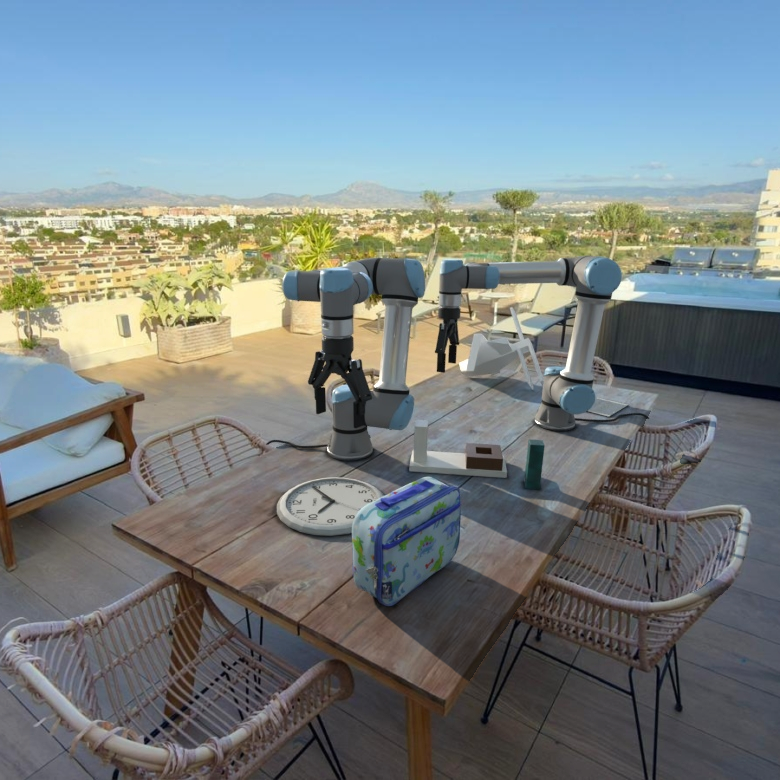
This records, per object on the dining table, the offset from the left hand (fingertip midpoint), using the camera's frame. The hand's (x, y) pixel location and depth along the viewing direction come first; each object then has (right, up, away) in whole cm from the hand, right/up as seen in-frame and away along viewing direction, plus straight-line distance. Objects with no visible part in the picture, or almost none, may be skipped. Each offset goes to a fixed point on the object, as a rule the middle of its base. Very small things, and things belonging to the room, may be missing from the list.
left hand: (339, 419), depth 130 cm
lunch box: (+16, -34, -16) cm, 41 cm away
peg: (+55, -21, +26) cm, 64 cm away
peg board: (+34, -17, +38) cm, 54 cm away
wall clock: (-3, -24, +13) cm, 28 cm away
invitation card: (+104, 0, +96) cm, 142 cm away
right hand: (+32, +15, +52) cm, 63 cm away
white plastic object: (+66, +10, +127) cm, 144 cm away
